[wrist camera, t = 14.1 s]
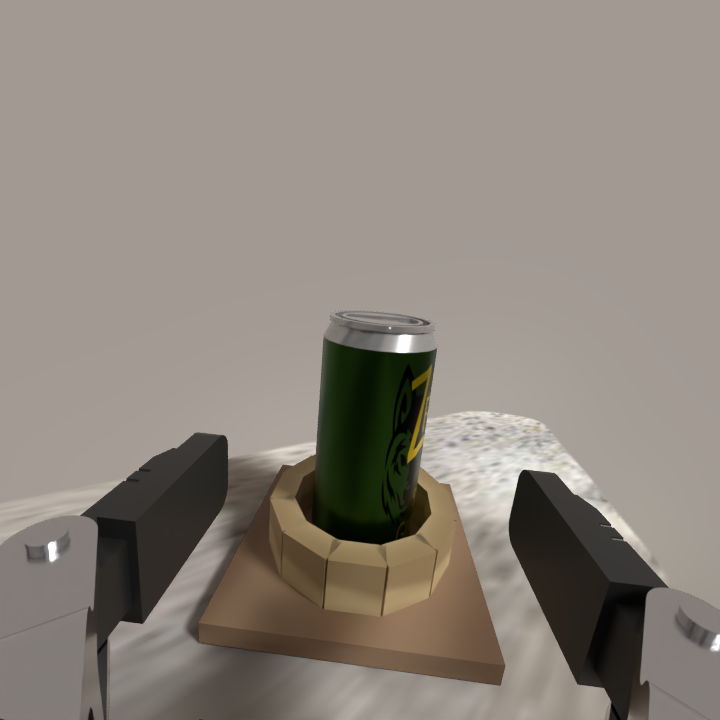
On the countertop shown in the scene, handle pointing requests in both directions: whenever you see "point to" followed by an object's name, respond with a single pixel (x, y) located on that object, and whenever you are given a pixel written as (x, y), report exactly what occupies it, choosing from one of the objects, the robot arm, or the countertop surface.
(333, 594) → the socket board
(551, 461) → the countertop surface
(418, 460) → the beer can
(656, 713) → the robot arm
